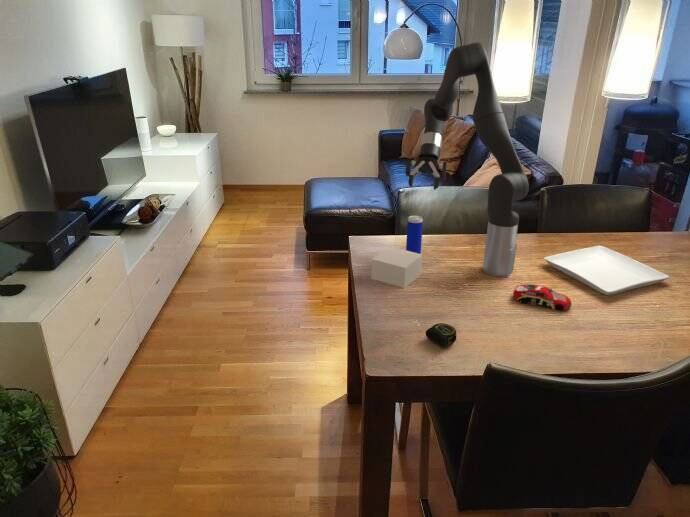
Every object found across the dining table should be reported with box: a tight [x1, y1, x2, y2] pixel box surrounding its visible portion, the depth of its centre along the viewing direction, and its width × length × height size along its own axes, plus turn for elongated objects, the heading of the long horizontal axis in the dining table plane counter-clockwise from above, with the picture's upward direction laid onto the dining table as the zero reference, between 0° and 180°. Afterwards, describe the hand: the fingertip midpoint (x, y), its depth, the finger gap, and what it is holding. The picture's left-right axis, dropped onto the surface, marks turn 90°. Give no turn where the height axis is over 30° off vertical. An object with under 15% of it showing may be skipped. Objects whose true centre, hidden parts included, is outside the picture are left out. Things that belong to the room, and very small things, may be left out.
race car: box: [512, 283, 572, 312], centre depth 155 cm, size 16×7×5 cm, turn 63°
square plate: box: [543, 245, 670, 296], centre depth 172 cm, size 27×27×4 cm
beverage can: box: [405, 214, 424, 254], centre depth 181 cm, size 5×5×15 cm
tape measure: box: [425, 322, 457, 349], centre depth 136 cm, size 7×7×4 cm
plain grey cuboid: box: [370, 246, 424, 289], centre depth 170 cm, size 12×12×7 cm
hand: (422, 187), depth 185 cm, fingers open, 8 cm apart
